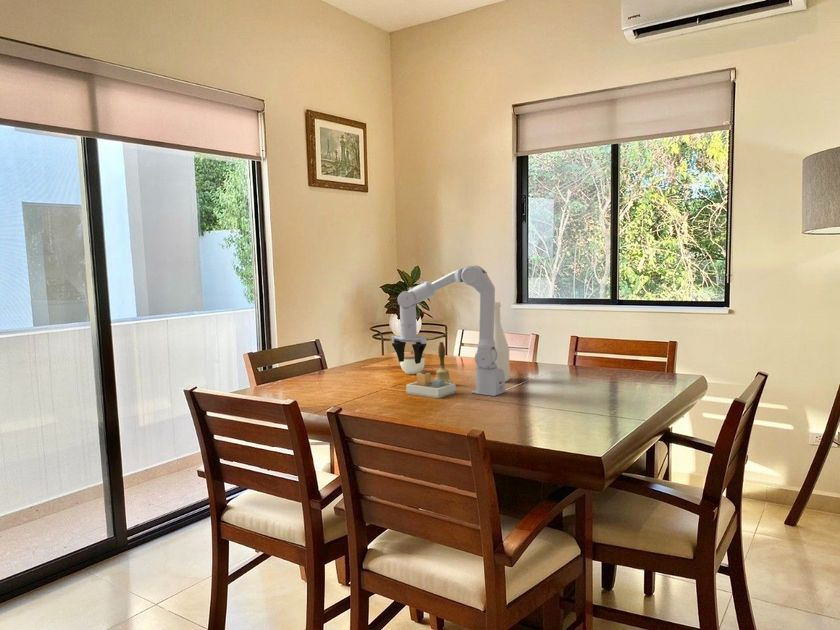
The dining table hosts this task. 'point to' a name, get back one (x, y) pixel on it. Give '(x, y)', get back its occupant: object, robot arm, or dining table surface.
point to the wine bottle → (501, 343)
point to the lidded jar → (412, 363)
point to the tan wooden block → (423, 378)
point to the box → (431, 389)
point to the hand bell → (442, 365)
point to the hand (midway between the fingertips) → (409, 362)
